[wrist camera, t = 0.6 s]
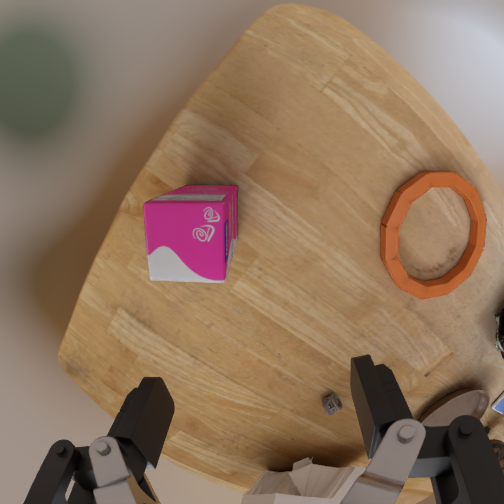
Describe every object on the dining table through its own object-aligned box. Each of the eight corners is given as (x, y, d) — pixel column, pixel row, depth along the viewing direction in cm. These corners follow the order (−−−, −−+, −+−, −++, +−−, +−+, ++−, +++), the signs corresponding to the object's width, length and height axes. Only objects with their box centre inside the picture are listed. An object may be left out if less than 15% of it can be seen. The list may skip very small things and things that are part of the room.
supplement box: (240, 239, 31) (225, 287, 20) (185, 237, 31) (145, 282, 20) (241, 184, 29) (224, 202, 18) (183, 183, 29) (137, 202, 19)
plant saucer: (387, 438, 42) (391, 450, 39) (455, 371, 36) (462, 383, 33) (438, 444, 43) (442, 454, 40) (495, 388, 38) (501, 397, 35)
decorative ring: (341, 398, 38) (344, 412, 35) (330, 404, 38) (333, 419, 36) (330, 389, 37) (333, 404, 34) (320, 396, 38) (322, 411, 35)
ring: (378, 172, 28) (383, 173, 26) (480, 171, 26) (487, 173, 25) (378, 299, 32) (382, 306, 31) (472, 282, 31) (478, 287, 30)
